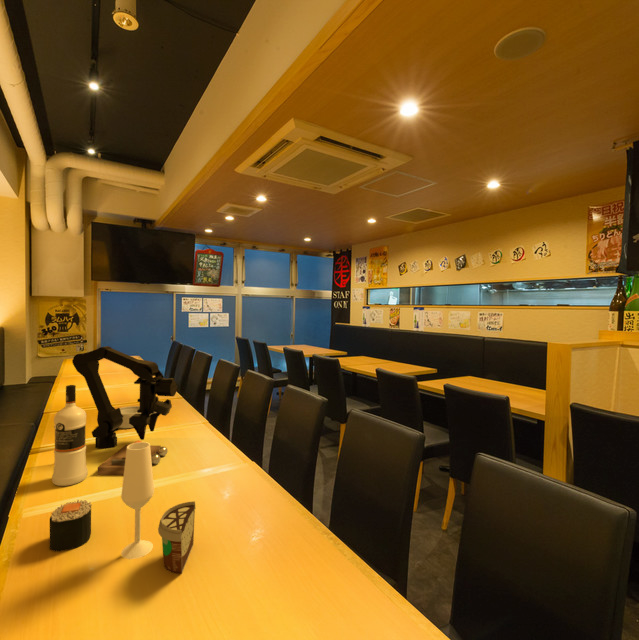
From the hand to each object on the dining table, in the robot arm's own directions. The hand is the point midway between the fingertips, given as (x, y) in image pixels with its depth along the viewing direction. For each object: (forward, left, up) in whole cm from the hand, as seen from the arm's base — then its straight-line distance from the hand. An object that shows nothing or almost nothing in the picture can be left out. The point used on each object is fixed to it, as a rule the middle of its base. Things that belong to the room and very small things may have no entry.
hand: (147, 435), depth 143 cm
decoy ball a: (+9, -7, -3) cm, 12 cm away
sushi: (+6, -56, -5) cm, 57 cm away
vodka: (-13, -27, -5) cm, 30 cm away
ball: (0, -8, -1) cm, 8 cm away
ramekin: (-19, +28, -5) cm, 34 cm away
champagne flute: (+22, -60, -5) cm, 64 cm away
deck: (0, -13, -5) cm, 14 cm away
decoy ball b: (+9, -14, -3) cm, 17 cm away
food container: (+32, -63, -5) cm, 71 cm away
